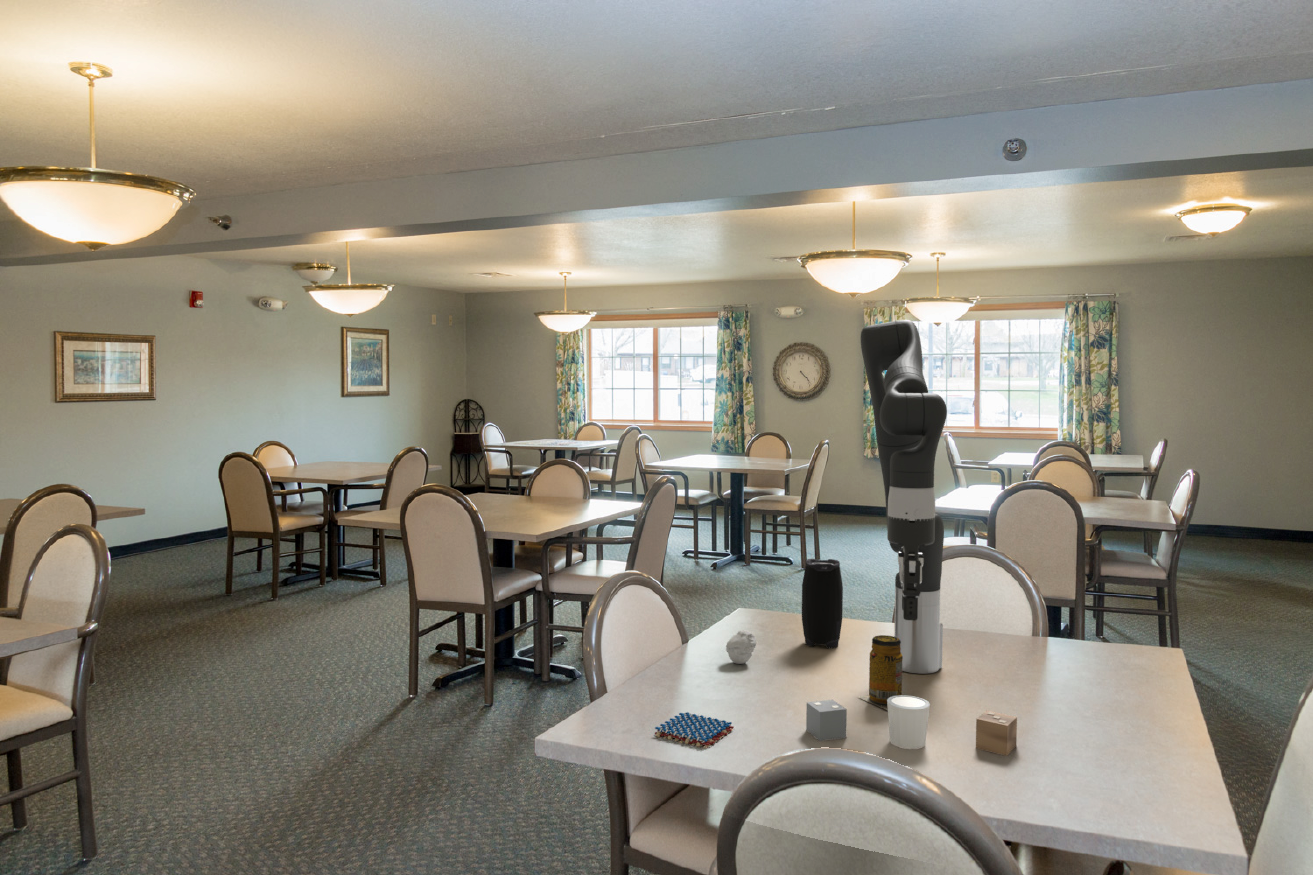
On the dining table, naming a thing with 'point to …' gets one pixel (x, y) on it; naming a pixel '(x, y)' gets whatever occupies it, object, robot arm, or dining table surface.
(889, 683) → the condiment
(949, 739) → the dining table surface
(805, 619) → the portable speaker
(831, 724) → the slate dotted block
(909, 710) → the shot glass
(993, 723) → the walnut dotted block
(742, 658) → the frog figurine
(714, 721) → the woven mat
